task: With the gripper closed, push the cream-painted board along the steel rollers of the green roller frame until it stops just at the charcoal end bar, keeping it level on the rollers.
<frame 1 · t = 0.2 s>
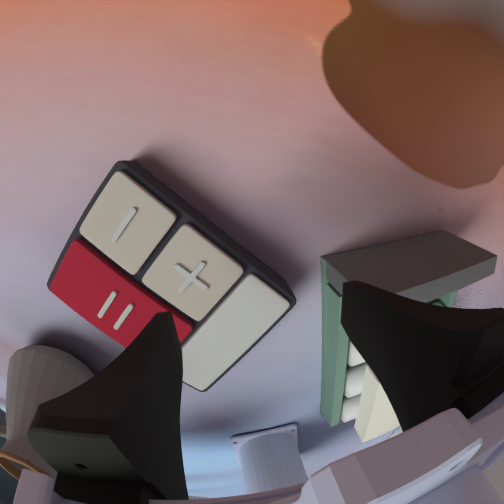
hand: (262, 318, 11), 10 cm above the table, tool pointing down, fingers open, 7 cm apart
coffee pot: (26, 352, 21), on the table
roller frame: (382, 336, 27), on the table
board: (403, 392, 23), point 6 cm above the table, slide at 0.0 cm
calculator: (167, 276, 21), on the table
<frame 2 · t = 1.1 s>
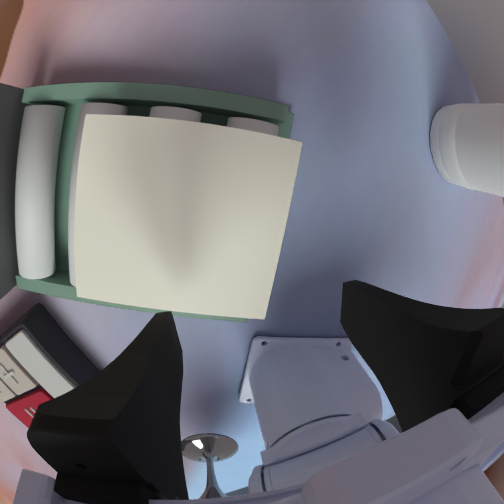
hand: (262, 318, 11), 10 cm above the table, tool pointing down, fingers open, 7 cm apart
wine glass: (208, 447, 28), on the table
roller frame: (134, 194, 18), on the table
board: (177, 216, 14), point 5 cm above the table, slide at 0.0 cm
calculator: (40, 369, 22), on the table
bottle: (453, 144, 21), on the table
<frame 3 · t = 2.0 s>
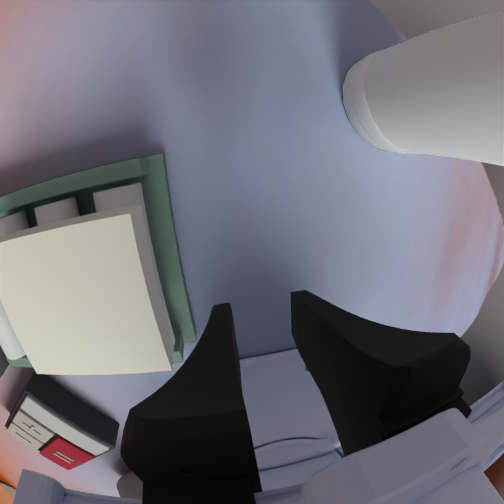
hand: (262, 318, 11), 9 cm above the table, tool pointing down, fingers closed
coffee pot: (145, 485, 31), on the table
roller frame: (63, 271, 19), on the table
board: (74, 301, 14), point 5 cm above the table, slide at 0.0 cm
calculator: (58, 417, 24), on the table
bottle: (382, 103, 18), on the table
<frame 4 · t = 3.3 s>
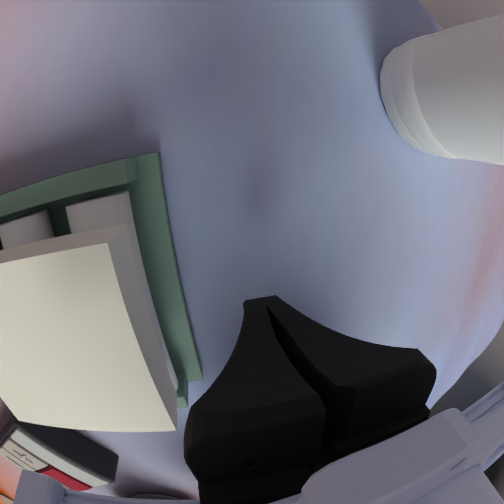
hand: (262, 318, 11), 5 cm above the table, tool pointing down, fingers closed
roller frame: (42, 298, 14), on the table
board: (49, 347, 10), point 5 cm above the table, slide at 0.0 cm
calculator: (51, 443, 20), on the table
bottle: (421, 98, 14), on the table
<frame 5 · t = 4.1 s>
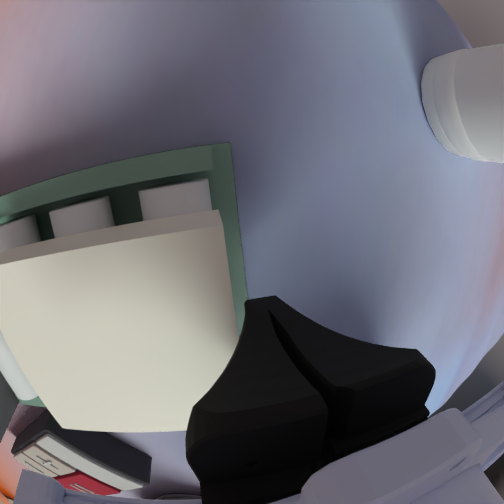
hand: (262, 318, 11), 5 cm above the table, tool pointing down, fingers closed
roller frame: (86, 293, 15), on the table
board: (115, 345, 10), point 6 cm above the table, slide at 0.0 cm, touching gripper
calculator: (75, 446, 21), on the table
bottle: (452, 105, 15), on the table
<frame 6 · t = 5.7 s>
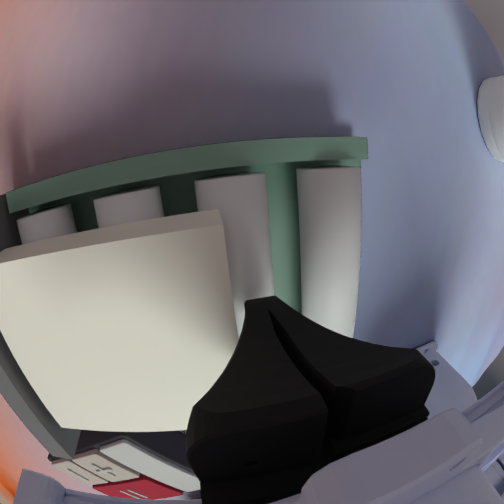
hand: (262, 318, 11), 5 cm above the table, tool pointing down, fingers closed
roller frame: (196, 278, 16), on the table
board: (115, 344, 10), point 6 cm above the table, slide at 6.9 cm, touching gripper
calculator: (128, 449, 21), on the table
bottle: (496, 119, 16), on the table
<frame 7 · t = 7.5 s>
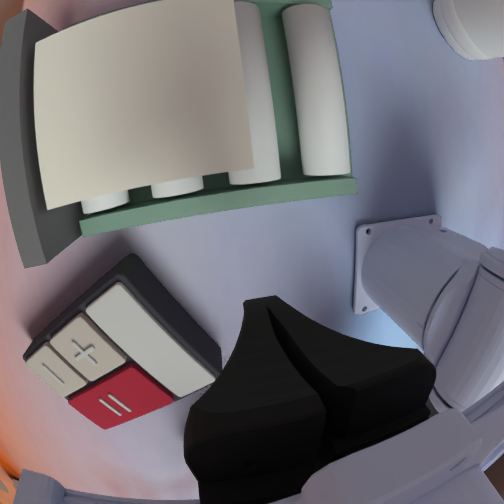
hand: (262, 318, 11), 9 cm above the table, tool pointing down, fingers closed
roller frame: (204, 100, 17), on the table
board: (133, 93, 11), point 6 cm above the table, slide at 6.9 cm
calculator: (117, 346, 22), on the table
bottle: (455, 28, 16), on the table
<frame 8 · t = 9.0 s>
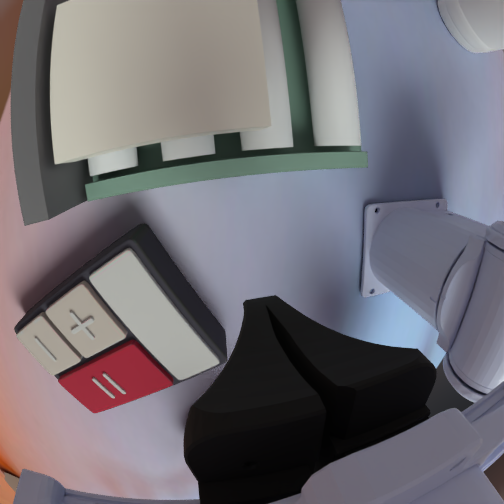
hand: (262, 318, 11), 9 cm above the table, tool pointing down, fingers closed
roller frame: (217, 73, 16), on the table
board: (152, 54, 10), point 5 cm above the table, slide at 6.9 cm
calculator: (115, 323, 21), on the table
bottle: (459, 22, 16), on the table
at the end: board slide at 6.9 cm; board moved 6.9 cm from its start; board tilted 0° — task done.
